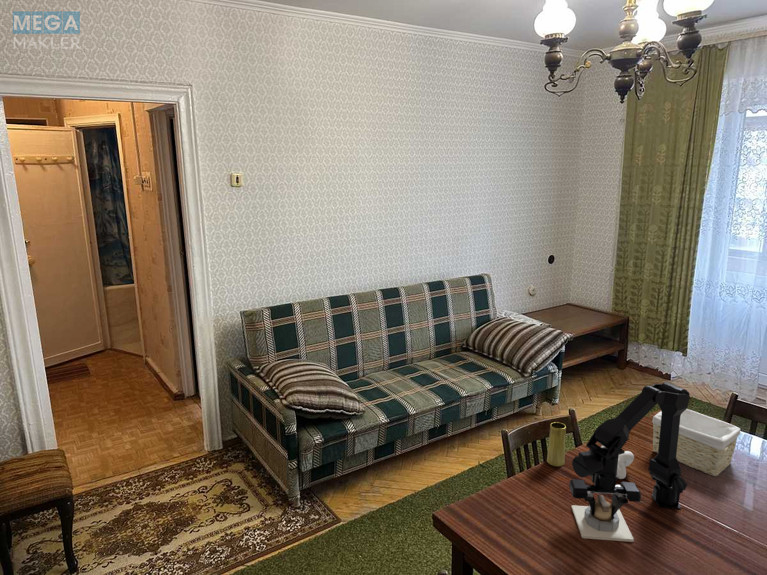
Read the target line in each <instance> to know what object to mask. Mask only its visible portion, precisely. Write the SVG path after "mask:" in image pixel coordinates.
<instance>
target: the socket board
mask: <svg viewBox="0 0 767 575" xmlns="http://www.w3.org/2000/svg"><path fill="white" fill-rule="evenodd" d="M571 511H572V513H573V516H574V520H575V522H576V526H577V527H578V530H579V533H580V536H581V538H582V539H591V540H603V541H615V542H618V541H619V542H631V543H633V542H635V539H634V536H633V534H632V532H631V531H630V529H629V526H628V525H627V524H628V523H627V522H626V519H625V518H624V516H623V513H622V512H621V509H619V510H618V511H617V512H616V513H615V515H614V516H613V517H611V521H610V522H604V521H599V520H597V519H595V518H593V516H592V514H591V510H590V506H589V505H576V504H575V505H574V504H573V505H571Z"/></svg>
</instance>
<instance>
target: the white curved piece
mask: <svg viewBox="0 0 767 575" xmlns="http://www.w3.org/2000/svg"><path fill="white" fill-rule="evenodd" d="M600 447H601V448H603V447H604V446H603V445H601V446H600ZM624 451H625V453H623V454H620V455H619V457H618V467H617V477H618V479H619V480H624V479H625V478H626V477H627V468H626V467H629V465H631V464H632V463H633V461H634V460H635V455H634V454H633V453H632V452H631V451H630V450H624Z"/></svg>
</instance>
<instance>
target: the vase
mask: <svg viewBox="0 0 767 575" xmlns="http://www.w3.org/2000/svg"><path fill="white" fill-rule="evenodd" d="M566 433H567V426H566V424H565V423H562V422H559V421H554V422H551V423H550V425H549V436H548V438H549V439H548V449H547V456H546V457H547V458H546V462H547V463H548V464H549V465H551V466H553V467H562V466H564V465H565V464H566V463H565V457H566V456H565V455H566V435H567V434H566Z"/></svg>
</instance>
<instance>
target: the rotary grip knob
mask: <svg viewBox="0 0 767 575" xmlns="http://www.w3.org/2000/svg"><path fill="white" fill-rule="evenodd" d="M611 513H612V505H611V503H610V502H608V501H607V500H606V499H605V497H604V495H603V494H597V495H596V499H595V513H594V516H593V518H595V519H597V520H599V521H604V522H610V521H611Z"/></svg>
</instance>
